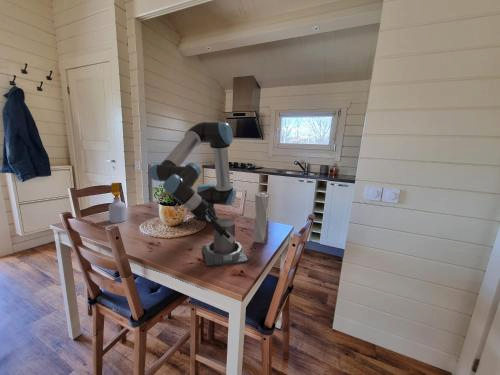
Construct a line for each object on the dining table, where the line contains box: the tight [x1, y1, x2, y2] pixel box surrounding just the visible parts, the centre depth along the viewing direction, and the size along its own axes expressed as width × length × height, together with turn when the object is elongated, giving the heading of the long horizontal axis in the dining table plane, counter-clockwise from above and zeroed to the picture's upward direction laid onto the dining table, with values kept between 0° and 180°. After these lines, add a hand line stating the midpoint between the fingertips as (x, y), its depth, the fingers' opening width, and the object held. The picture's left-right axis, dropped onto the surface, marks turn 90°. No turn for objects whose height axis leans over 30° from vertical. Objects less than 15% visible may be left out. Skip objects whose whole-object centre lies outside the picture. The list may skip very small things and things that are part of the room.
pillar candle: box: [213, 217, 236, 254], centre depth 97 cm, size 10×10×15 cm
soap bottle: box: [108, 182, 127, 224], centre depth 131 cm, size 9×9×25 cm
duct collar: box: [201, 240, 249, 269], centre depth 98 cm, size 18×18×4 cm
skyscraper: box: [253, 191, 270, 245], centre depth 112 cm, size 8×8×28 cm
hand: (230, 236), depth 98 cm, fingers closed on pillar candle, 9 cm apart
